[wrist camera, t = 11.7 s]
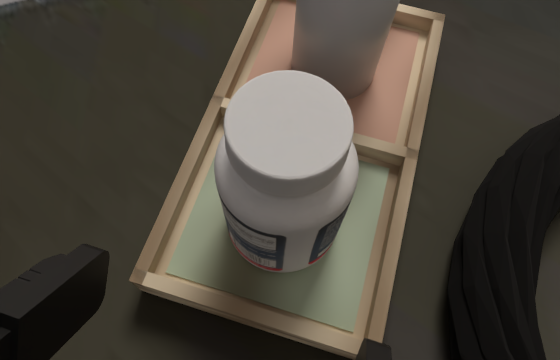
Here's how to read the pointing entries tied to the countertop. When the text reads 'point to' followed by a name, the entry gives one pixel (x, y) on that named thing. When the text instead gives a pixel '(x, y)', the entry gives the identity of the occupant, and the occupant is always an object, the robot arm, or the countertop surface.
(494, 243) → the cable lock
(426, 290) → the countertop surface
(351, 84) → the grey tube
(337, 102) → the pill bottle
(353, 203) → the divided tray
